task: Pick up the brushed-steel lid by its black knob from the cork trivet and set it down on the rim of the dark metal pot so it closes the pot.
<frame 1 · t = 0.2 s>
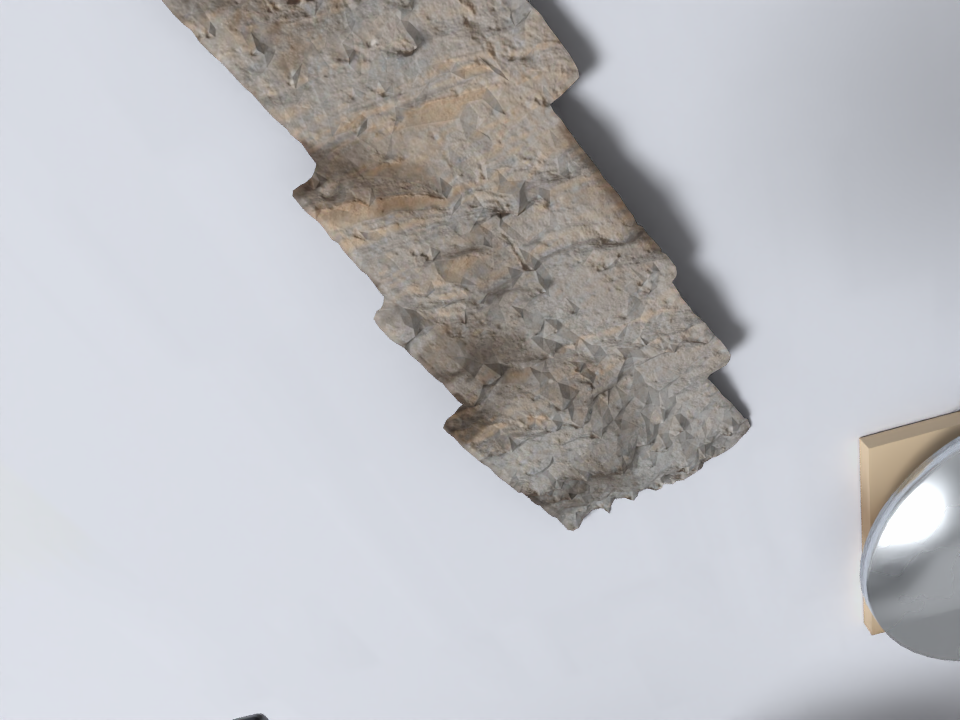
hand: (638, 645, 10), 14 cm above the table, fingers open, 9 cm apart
stone fragment: (453, 173, 22), on the table
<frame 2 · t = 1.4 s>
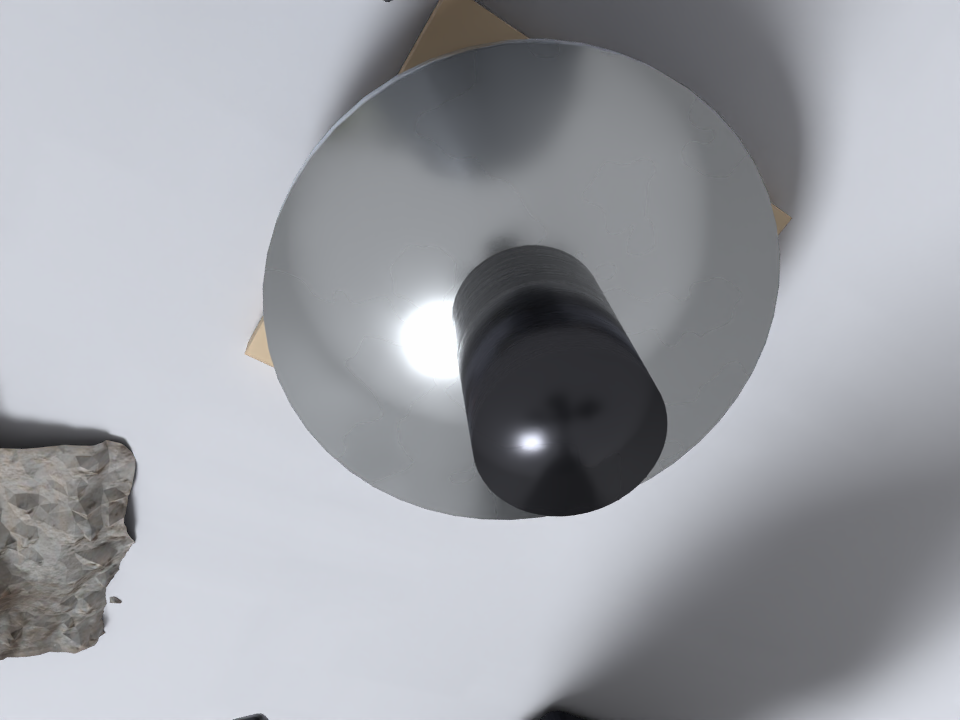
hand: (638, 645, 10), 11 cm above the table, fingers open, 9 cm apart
trivet: (513, 276, 19), on the table
lid: (516, 286, 19), point 1 cm above the table, touching trivet
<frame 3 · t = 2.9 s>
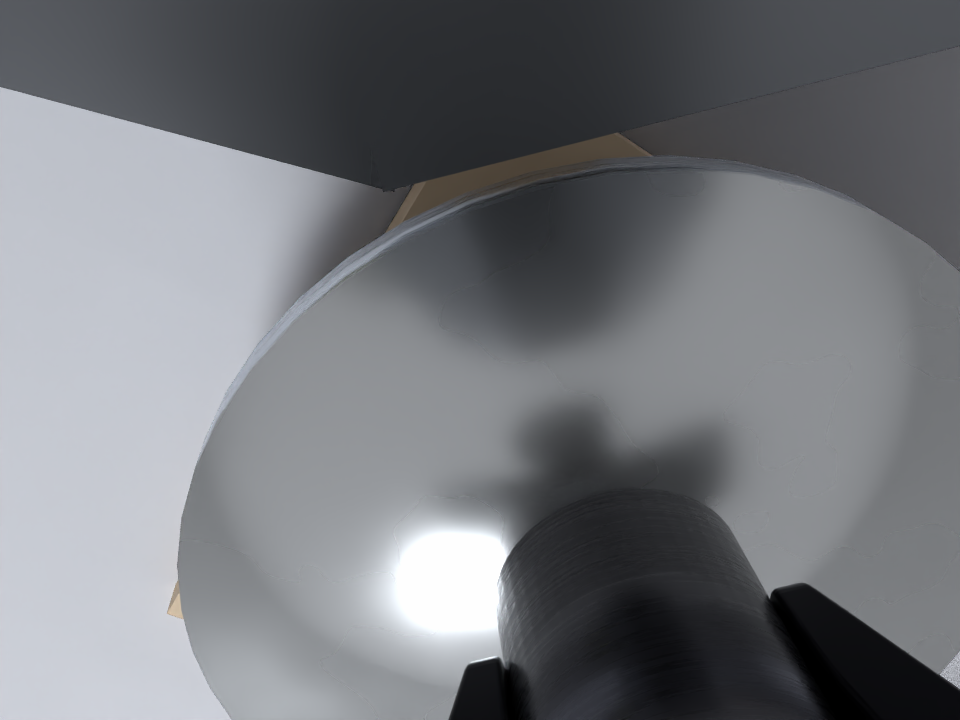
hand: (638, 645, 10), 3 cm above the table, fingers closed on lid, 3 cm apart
trivet: (582, 484, 12), on the table
lid: (591, 509, 12), point 1 cm above the table, touching gripper, trivet
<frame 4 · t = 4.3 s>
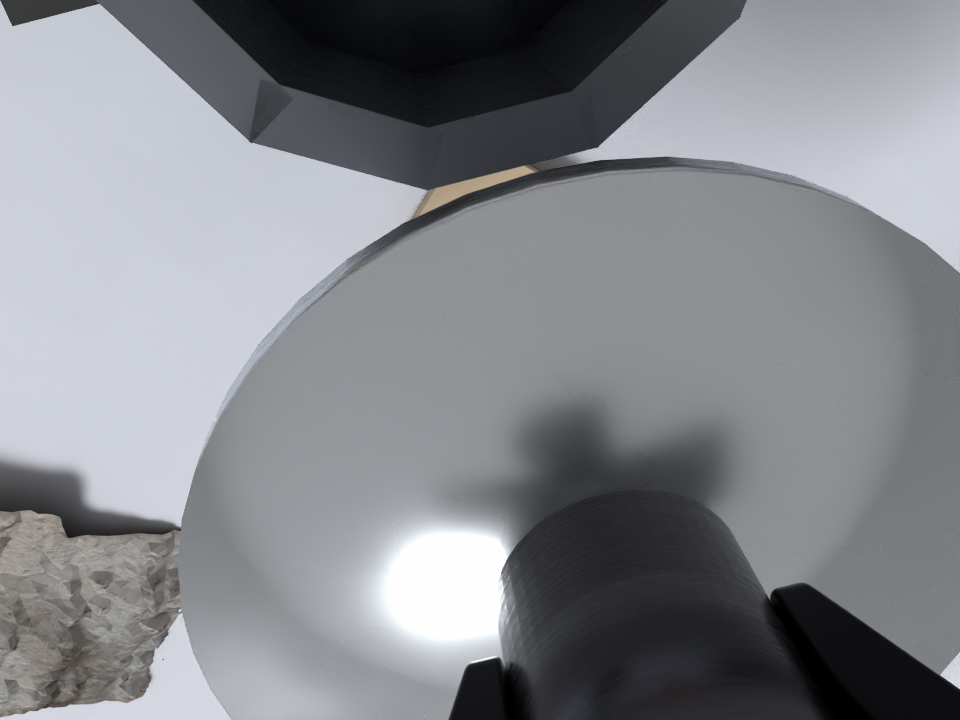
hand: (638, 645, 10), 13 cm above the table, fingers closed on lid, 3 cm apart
trivet: (520, 357, 22), on the table
lid: (591, 510, 12), point 10 cm above the table, touching gripper
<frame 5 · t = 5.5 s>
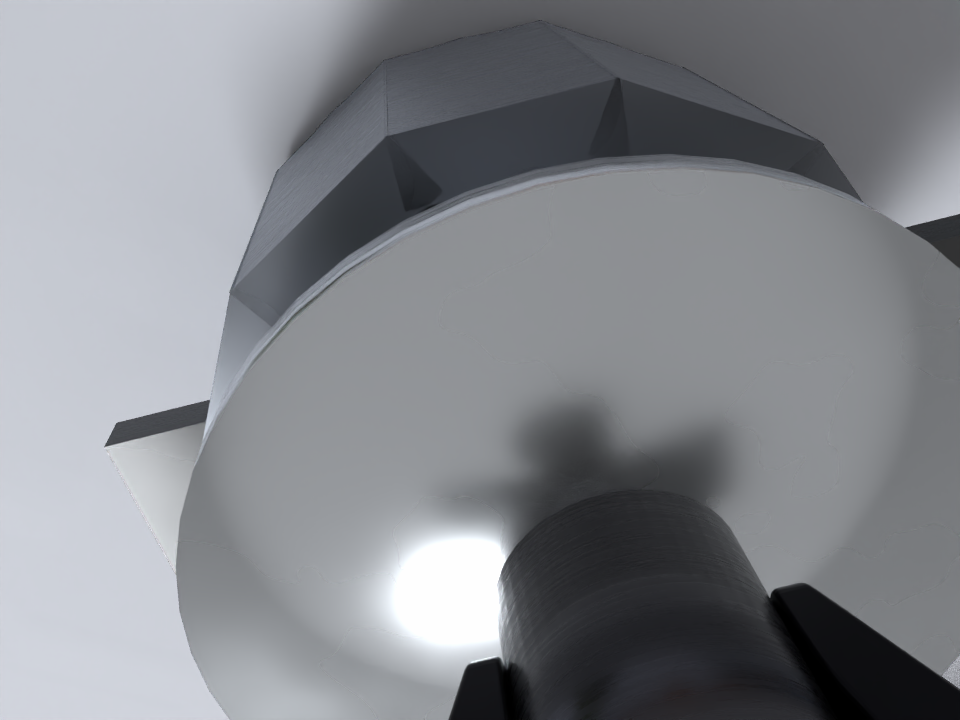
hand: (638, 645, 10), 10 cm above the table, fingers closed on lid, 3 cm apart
lid: (591, 510, 12), point 7 cm above the table, touching gripper
pot: (518, 297, 18), on the table
when the fingers open (8 cm above the table, at t = 6.1 s): lid stays where it is, resting on pot.
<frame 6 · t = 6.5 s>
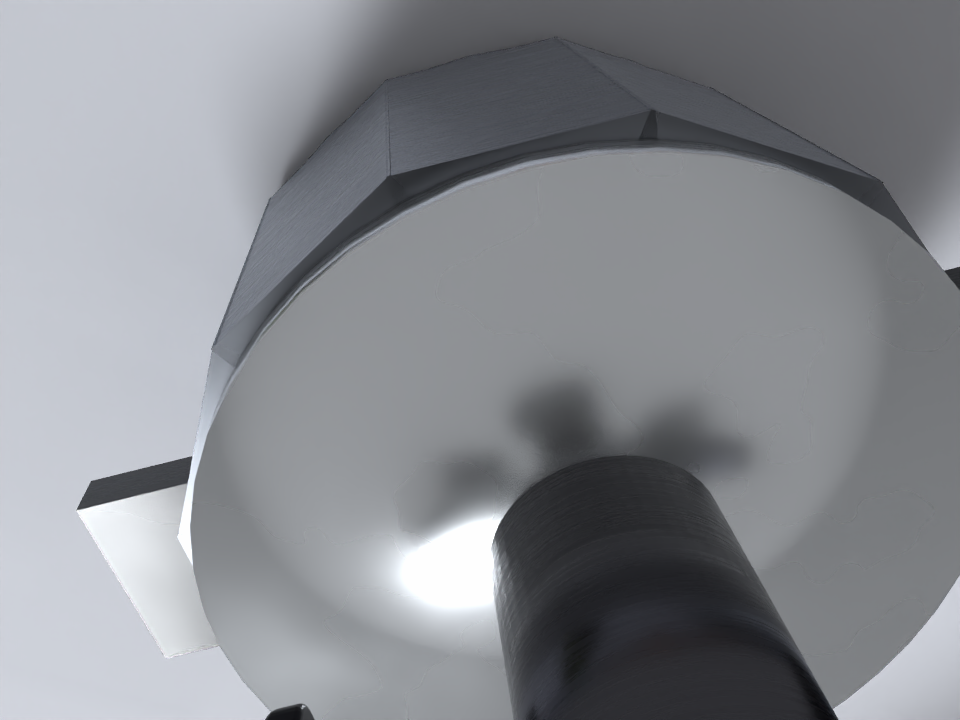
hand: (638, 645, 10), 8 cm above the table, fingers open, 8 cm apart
lid: (581, 480, 12), point 5 cm above the table, touching pot
pot: (529, 331, 17), on the table
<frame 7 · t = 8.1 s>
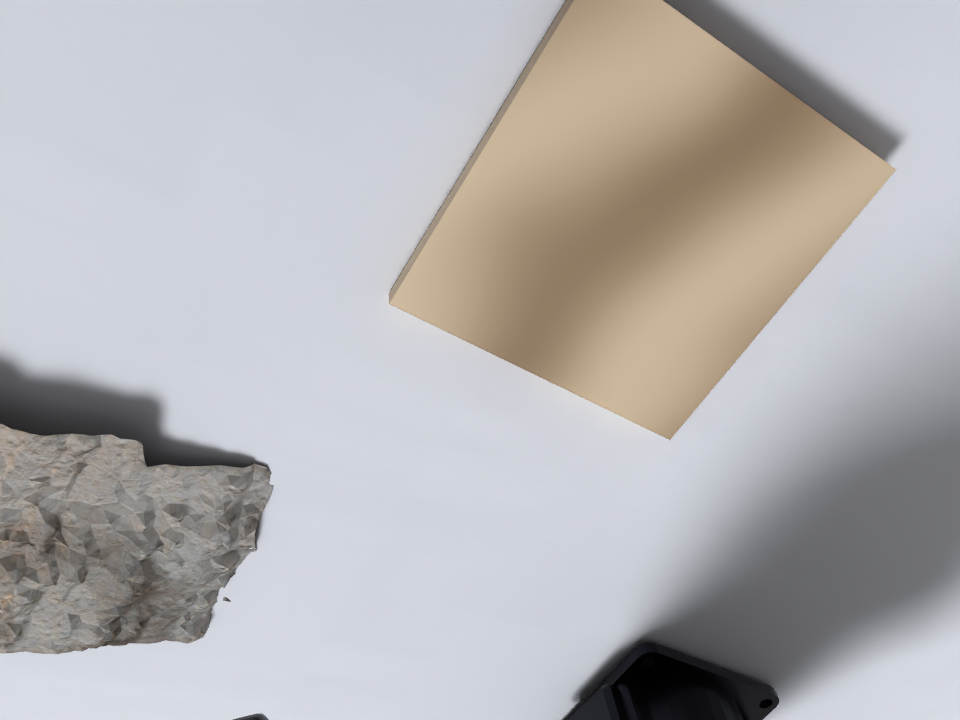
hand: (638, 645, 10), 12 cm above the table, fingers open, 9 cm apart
trivet: (634, 228, 21), on the table
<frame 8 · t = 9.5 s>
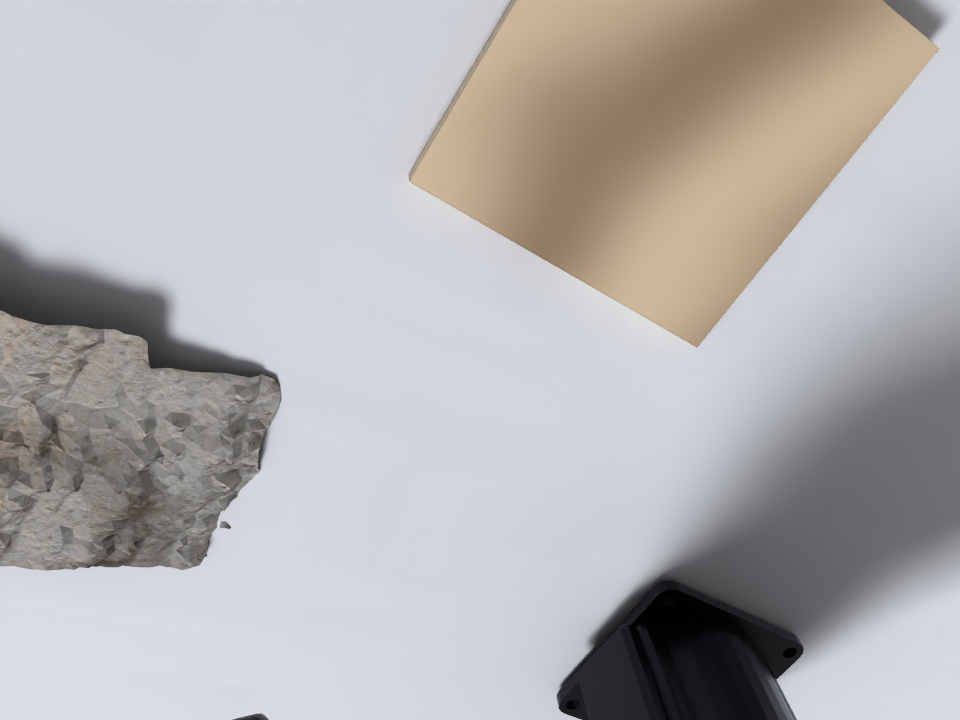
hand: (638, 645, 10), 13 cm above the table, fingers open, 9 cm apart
trivet: (665, 110, 20), on the table
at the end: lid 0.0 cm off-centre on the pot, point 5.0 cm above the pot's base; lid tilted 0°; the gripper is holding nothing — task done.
